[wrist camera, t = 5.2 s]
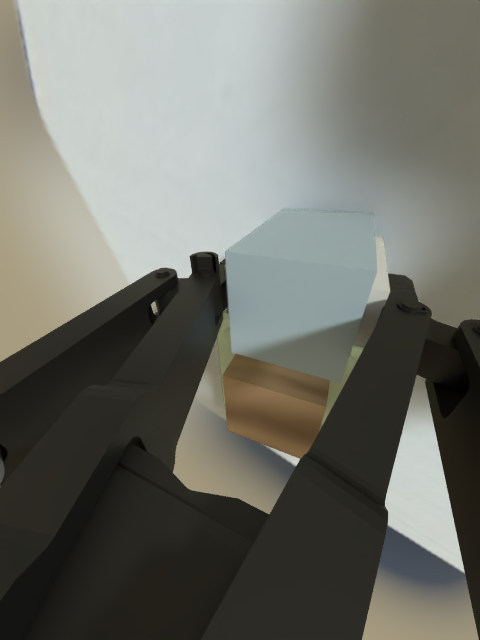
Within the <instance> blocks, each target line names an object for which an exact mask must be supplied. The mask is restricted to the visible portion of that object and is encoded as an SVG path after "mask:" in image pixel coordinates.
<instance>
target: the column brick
mask: <svg viewBox="0 0 480 640" xmlns="http://www.w3.org/2000/svg"><path fill="white" fill-rule="evenodd" d="M225 259H226V274H227V290H228V305H229V320H230V335H231V350H232V353H236V354H239V355H243V356H246V357H250V358H253V359H257V360H260V361H264V362H267V363H271V364H274V365H278V366H281V367H285V368H288V369H292V370H295V371H299V372H302V373H306V374H309V375H313V376H316V377H320V378H323V379H327V380H330V381H334V382H337V383H341V381H342V378H343V375H344V372H345V369H346V365H347V362H348V359H349V356H350V353H351V350H352V347H353V344H354V341H355V338H356V335H357V332H358V329H359V326H360V323H361V320H362V317H363V313H364V310H365V307H366V304H367V301H368V298H369V295H370V292H371V289H372V286H373V283H374V280H375V277H376V274H377V255H376V238H375V221H374V213H357V212H338V211H320V210H301V209H282V210H281V211H280V212H278V213H277V214H275V215H274V216H273V217H271V218H270V219H269V220H267V221H266V222H265V223H263V224H262V225H260V226H259V227H258V228H256V229H255V230H254V231H252V232H251V233H249V234H248V235H247V236H245V237H244V238H243V239H241V240H240V241H239V242H237V243H236V244H234V245H233V246H232V247H230V248H229V249H228V250H226V251H225Z"/></svg>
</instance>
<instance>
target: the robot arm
mask: <svg viewBox="0 0 480 640" xmlns="http://www.w3.org/2000/svg"><path fill="white" fill-rule="evenodd" d="M375 238H376V255H377V274H376V277H375V280H374V283H373V286H372V289H371V292H370V295H369V298H368V301H367V304H366V307H365V310H364V313H363V317H362V320H361V323H360V326H359V329H358V332H357V335H356V338H355V341H354V344H353V346H357V347H361V348H364V349H363V351H362V353H361V355H360V357H359V358H358V360H357V362H356V364H355V366H354V368H353V370H352V371H351V373H350V375H349V377H348V379H347V381H346V383H345V384H344V386H343V388H342V390H341V392H340V394H339V396H338V397H337V399H336V401H335V403H334V405H333V407H332V409H331V410H330V412H329V414H328V416H327V418H326V420H325V422H324V423H323V425H322V427H321V429H320V431H319V433H318V435H317V437H316V438H315V440H314V442H313V444H312V446H311V448H310V449H309V451H308V452H307V453H306V454H304V455H303V456H302V458H301V459H300V461H299V463H298V464H297V466H296V468H295V469H294V471H293V473H292V475H291V477H290V478H289V480H288V482H287V484H286V486H285V488H284V489H283V491H282V493H281V495H280V497H279V498H278V500H277V502H276V504H275V506H274V507H273V510H272V511H271V513H270V515H269V514H267V513H265V512H263V511H261V510H259V509H257V508H255V507H253V506H251V505H250V504H247V503H246V502H244V501H242V500H240V499H237V498H231V497H226V496H220V495H214V494H208V493H202V492H196V491H192V490H189V489H188V488H186V487H185V486H184V484H183V483H182V482H181V481H180V480H179V479H178V478H177V477H176V476H175V475H174V474H173V469H174V464H175V451H176V446H177V442H178V439H179V437H180V434H181V431H182V429H183V426H184V424H185V421H186V418H187V415H188V413H189V410H190V407H191V405H192V402H193V399H194V397H195V394H196V391H197V389H198V386H199V383H200V381H201V378H202V375H203V373H204V370H205V367H206V365H207V362H208V359H209V357H210V354H211V351H212V348H213V346H214V343H215V340H216V338H217V335H218V332H219V330H220V327H221V324H222V322H223V311H224V310H225V309H226V308H227V315H228V317H229V305H228V290H227V274H226V259H224V260H223V261H222V262H220V264H219V261H218V255H217V254H216V253H213V252H199V253H195V254H192V255H191V256H190V261H191V268H192V274H191V275H190V277H189V278H178V277H177V272H176V271H175V270H174V269H170V268H160V269H158V270H155V271H153V272H151V273H149V274H147V275H146V276H144V277H142V278H141V279H139V280H137V281H136V282H134V283H132V284H131V285H129V286H127V287H125V288H124V289H122V290H120V291H119V292H117V293H115V294H114V295H112V296H110V297H109V298H107V299H105V300H104V301H102V302H100V303H99V304H97V305H95V306H94V307H92V308H90V309H89V310H87V311H85V312H84V313H82V314H80V315H78V316H77V317H75V318H73V319H72V320H70V321H68V322H67V323H65V324H63V325H62V326H60V327H58V328H57V329H55V330H53V331H52V332H50V333H48V334H47V335H45V336H43V337H42V338H40V339H38V340H37V341H35V342H33V343H31V344H30V345H28V346H26V347H25V348H23V349H21V350H20V351H18V352H17V353H15V354H13V355H11V356H10V357H8V358H7V359H5V360H3V361H1V362H0V640H362V636H363V632H364V627H365V622H366V619H367V614H368V610H369V605H370V601H371V596H372V592H373V588H374V584H375V579H376V575H377V570H378V566H379V562H380V557H381V553H382V548H383V544H384V539H385V535H386V529H387V524H388V511H387V509H386V507H385V498H386V493H387V489H388V485H389V481H390V477H391V473H392V469H393V465H394V462H395V458H396V454H397V450H398V446H399V442H400V438H401V434H402V430H403V426H404V422H405V418H406V414H407V410H408V406H409V402H410V398H411V394H412V390H413V386H414V382H415V378H416V374H417V375H419V376H421V377H423V378H426V381H425V384H426V389H427V393H428V398H429V403H430V408H431V413H432V417H433V422H434V427H435V432H436V436H437V441H438V446H439V451H440V456H441V460H442V465H443V470H444V475H445V479H446V484H447V489H448V494H449V499H450V503H451V508H452V513H453V518H454V523H455V527H456V532H457V537H458V542H459V546H460V551H461V556H462V561H463V566H464V570H465V575H466V580H467V584H468V589H469V594H470V599H471V603H472V608H473V613H474V618H475V623H476V628H477V632H478V637H479V640H480V320H472V319H471V320H464V321H463V322H462V323H461V324H460V325H459V327H458V328H455V327H452V326H449V325H446V324H443V323H440V322H437V321H435V320H433V319H431V315H432V313H431V310H430V309H429V308H428V307H427V306H425V305H424V304H422V303H420V302H418V299H417V295H416V292H415V289H414V286H413V282H412V281H411V280H410V279H409V278H408V277H406V276H404V275H396V274H388V271H387V264H386V256H385V249H384V241H383V238H382V237H375ZM154 301H155V303H156V307H157V310H158V312H157V313H155V314H154V313H153V311H152V308H151V304H152V303H153V302H154Z"/></svg>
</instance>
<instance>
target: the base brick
mask: <svg viewBox="0 0 480 640" xmlns="http://www.w3.org/2000/svg"><path fill="white" fill-rule="evenodd" d="M329 385H330V380H327V379H323V378H320V377H316V376H313V375H309V374H306V373H302V372H299V371H295V370H292V369H288V368H285V367H281V366H278V365H274V364H271V363H267V362H264V361H260V360H257V359H253V358H250V357H246V356H243V355H239V354H235V356H234V357H233V359H232V361H231V362H230V364H229V365H228V367H227V369H226V370H225V372H224V374H223V386H224V396H225V406H226V417H227V426H228V431H231V432H234V433H236V434H239V435H241V436H244V437H246V438H249V439H251V440H254V441H256V442H259V443H262V444H264V445H267V446H269V447H272V448H274V449H277V450H279V451H282V452H285V453H287V454H290V455H292V456H295V457H297V458H300V459H301V458H302V456H303V455H304V454H306V453H307V452H308V451H309V449H310V448H311V446H312V444H313V442H314V440H315V438H316V437H317V435H318V433H319V430H320V427H321V423H322V420H323V417H324V413H325V410H326V406H327V399H328V392H329Z"/></svg>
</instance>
